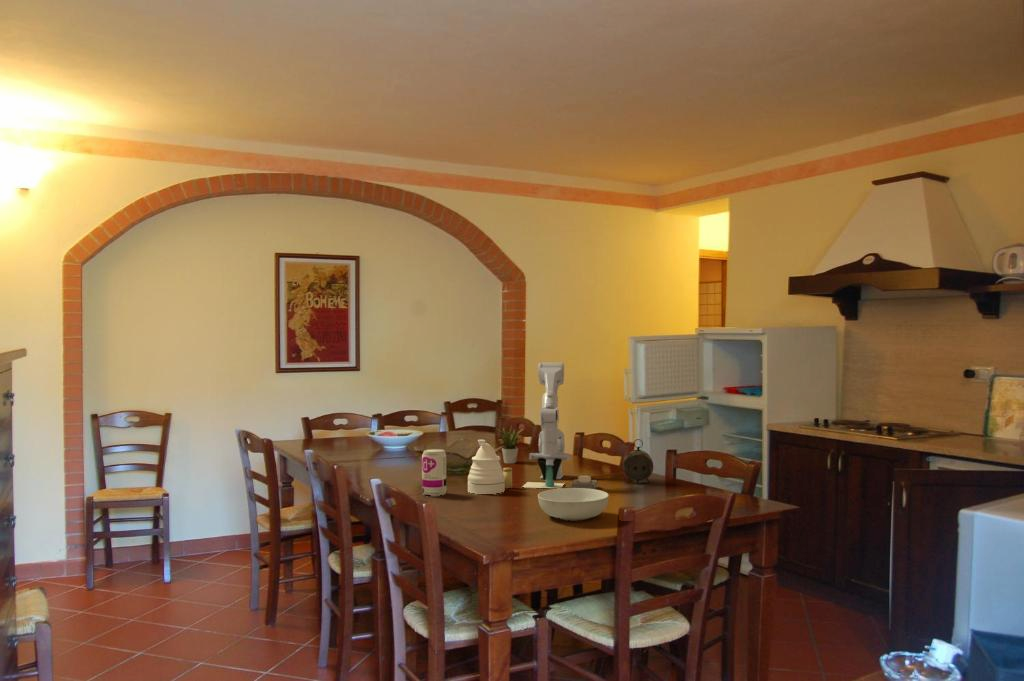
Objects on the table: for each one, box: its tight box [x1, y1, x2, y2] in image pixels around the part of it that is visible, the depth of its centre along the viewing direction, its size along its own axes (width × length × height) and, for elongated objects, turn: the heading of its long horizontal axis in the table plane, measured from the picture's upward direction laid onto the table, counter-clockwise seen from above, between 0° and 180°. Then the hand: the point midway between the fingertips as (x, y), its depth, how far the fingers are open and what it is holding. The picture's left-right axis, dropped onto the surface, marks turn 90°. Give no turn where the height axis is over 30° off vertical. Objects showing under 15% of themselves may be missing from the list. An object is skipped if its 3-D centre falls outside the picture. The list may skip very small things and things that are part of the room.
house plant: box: [495, 425, 524, 464], centre depth 324 cm, size 14×14×16 cm
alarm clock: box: [622, 438, 654, 485], centre depth 274 cm, size 11×5×16 cm, turn 84°
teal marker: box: [544, 465, 555, 486], centre depth 267 cm, size 3×3×7 cm
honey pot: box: [467, 439, 506, 495], centre depth 261 cm, size 13×13×18 cm
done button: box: [577, 475, 592, 483], centre depth 264 cm, size 4×4×3 cm
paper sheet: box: [521, 481, 566, 489], centre depth 269 cm, size 10×14×1 cm
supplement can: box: [421, 448, 447, 497], centre depth 255 cm, size 8×8×15 cm
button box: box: [571, 479, 598, 490], centre depth 264 cm, size 8×8×2 cm
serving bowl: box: [537, 487, 610, 522], centre depth 221 cm, size 21×21×7 cm
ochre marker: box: [502, 467, 513, 489], centre depth 266 cm, size 3×3×7 cm
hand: (549, 479), depth 267 cm, fingers closed on teal marker, 3 cm apart
